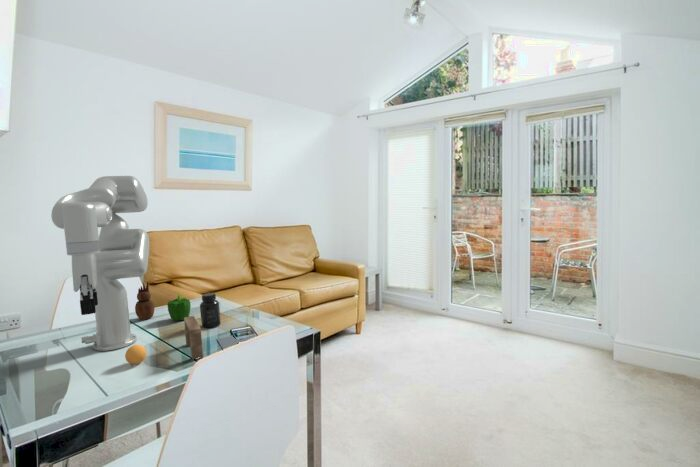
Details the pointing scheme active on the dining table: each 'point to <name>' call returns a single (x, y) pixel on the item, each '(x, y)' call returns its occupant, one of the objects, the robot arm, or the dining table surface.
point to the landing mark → (230, 341)
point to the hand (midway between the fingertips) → (90, 309)
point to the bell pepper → (179, 308)
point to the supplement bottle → (210, 311)
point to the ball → (135, 354)
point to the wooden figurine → (144, 303)
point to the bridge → (193, 337)
